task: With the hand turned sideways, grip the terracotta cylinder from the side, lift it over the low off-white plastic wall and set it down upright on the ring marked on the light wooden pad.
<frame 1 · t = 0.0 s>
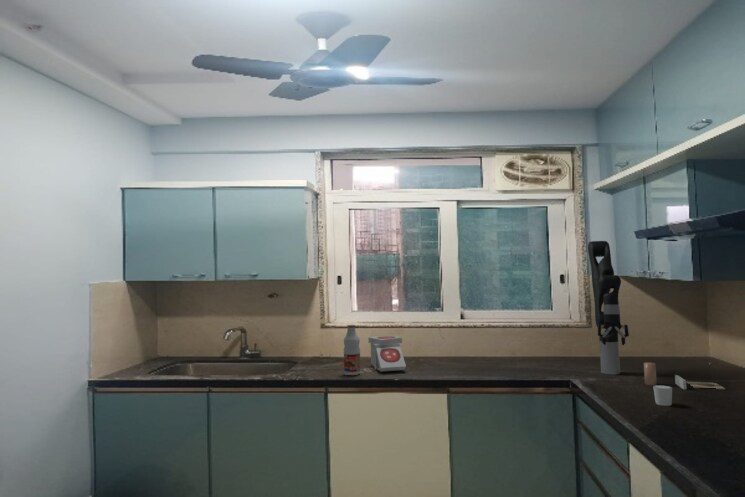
hand: (613, 344, 247), 17 cm above the worktop, tool pointing down, fingers open, 8 cm apart
shot glass: (663, 404, 199), on the worktop
fruit juice: (352, 374, 273), on the worktop
pad: (705, 385, 226), on the worktop
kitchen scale: (388, 369, 287), on the worktop
wall: (680, 386, 227), on the worktop
cylinder: (650, 383, 233), on the worktop
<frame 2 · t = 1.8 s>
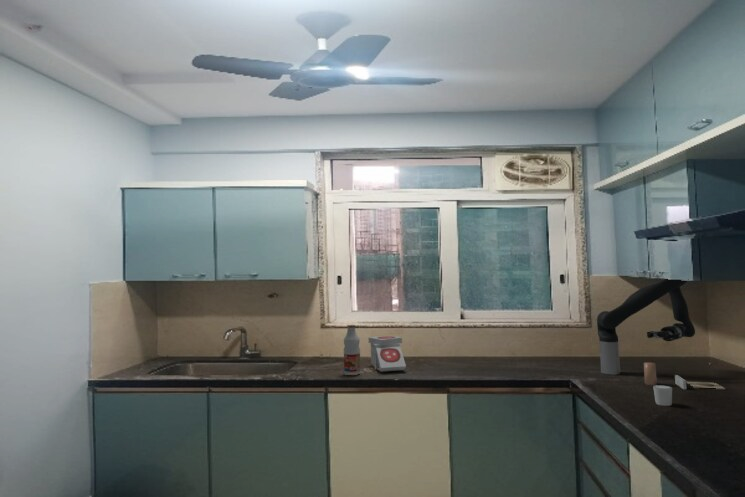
hand: (657, 336, 241), 22 cm above the worktop, tool horizontal, fingers open, 8 cm apart
nothing on the worktop moved.
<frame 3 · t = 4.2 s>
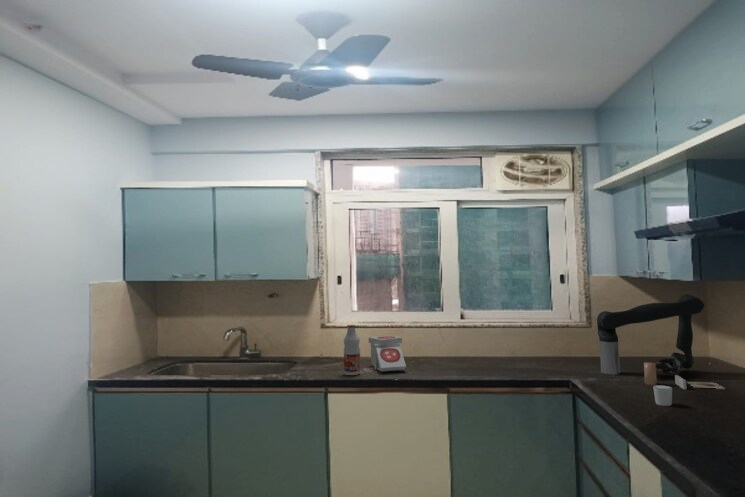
hand: (656, 369, 238), 6 cm above the worktop, tool horizontal, fingers open, 8 cm apart
nothing on the worktop moved.
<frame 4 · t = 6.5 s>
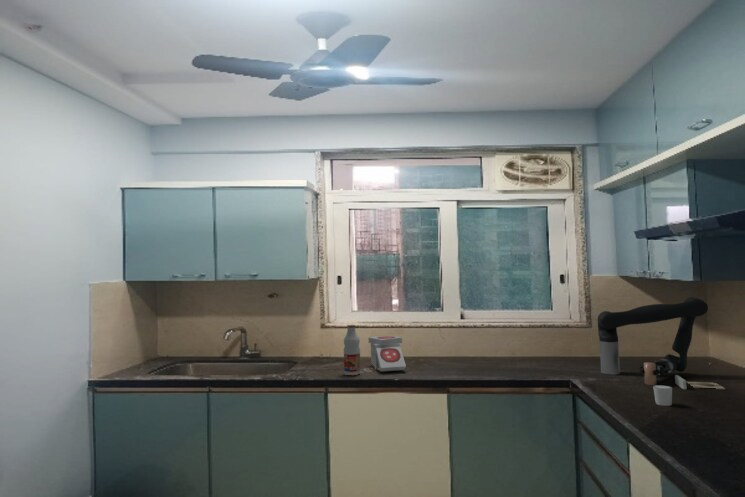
hand: (647, 372, 232), 6 cm above the worktop, tool horizontal, fingers closed on cylinder, 5 cm apart
cylinder: (650, 383, 233), on the worktop, touching gripper
everything else where it was.
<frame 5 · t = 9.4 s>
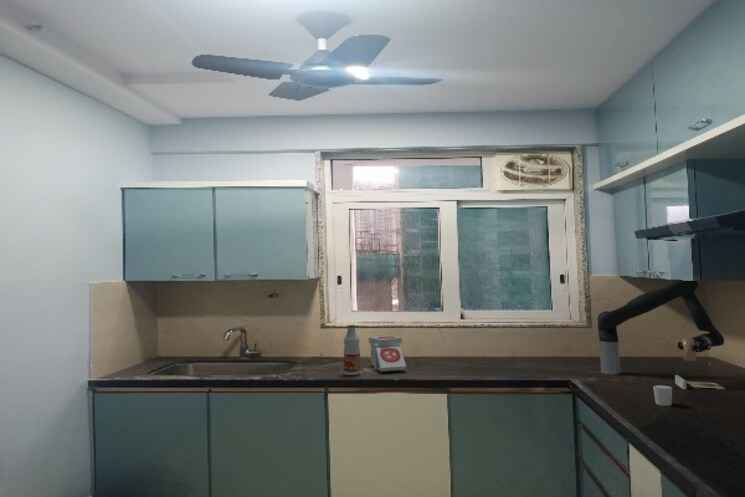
hand: (686, 348, 227), 18 cm above the worktop, tool horizontal, fingers closed on cylinder, 5 cm apart
cylinder: (689, 360, 229), point 12 cm above the worktop, touching gripper
everything else where it was.
when the fingers open (8 cm above the worktop, at t = 12.3 s): cylinder drops 1 cm, resting on pad.
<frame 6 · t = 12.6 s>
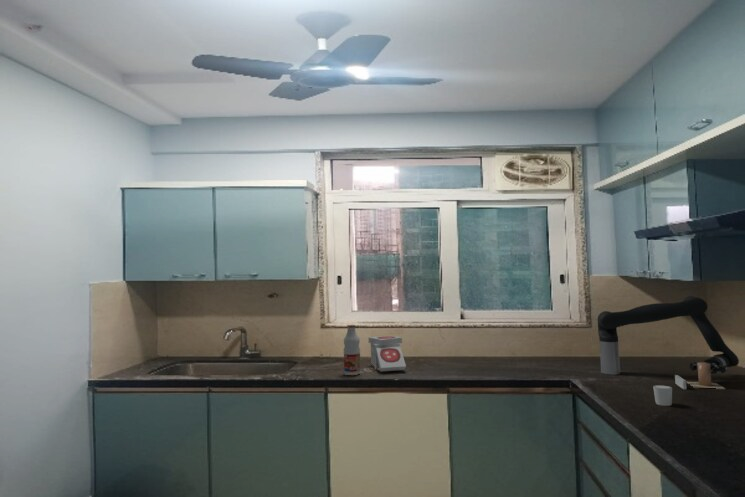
hand: (702, 369, 225), 8 cm above the worktop, tool horizontal, fingers open, 8 cm apart
cylinder: (705, 384, 226), point 1 cm above the worktop, touching pad
everything else where it was.
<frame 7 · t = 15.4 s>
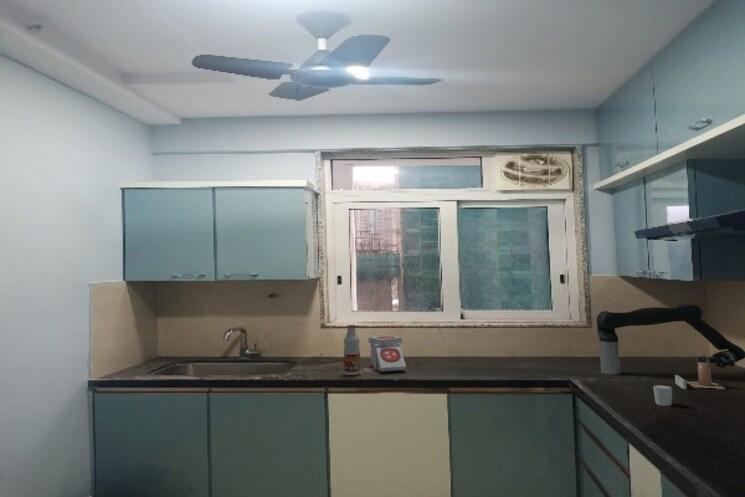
hand: (711, 363, 234), 9 cm above the worktop, tool horizontal, fingers open, 8 cm apart
nothing on the worktop moved.
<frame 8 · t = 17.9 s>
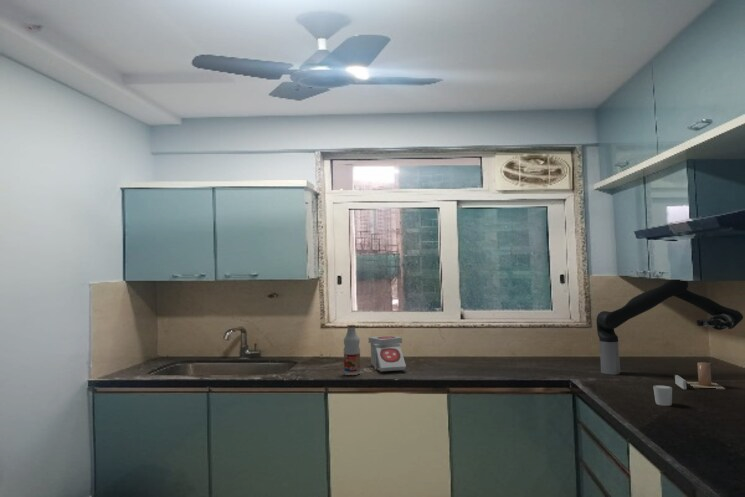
hand: (709, 324, 235), 28 cm above the worktop, tool horizontal, fingers open, 8 cm apart
nothing on the worktop moved.
at the end: cylinder 0.1 cm off-centre on the pad, point 0.6 cm above the pad's base; cylinder tilted 0°; the gripper is holding nothing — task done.
